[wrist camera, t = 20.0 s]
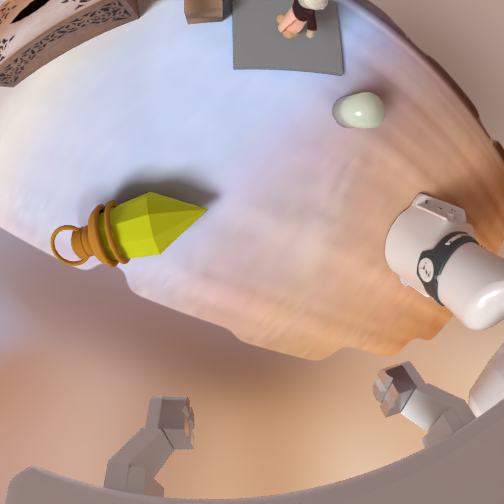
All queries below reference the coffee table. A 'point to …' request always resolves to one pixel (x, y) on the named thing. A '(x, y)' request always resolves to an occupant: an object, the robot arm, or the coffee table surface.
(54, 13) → the tissue box cover
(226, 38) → the coffee table surface
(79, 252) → the plumb bob
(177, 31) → the coffee table surface
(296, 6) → the grandmother figurine
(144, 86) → the coffee table surface
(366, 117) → the sage green capsule
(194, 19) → the walnut block
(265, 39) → the slate mat
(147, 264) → the coffee table surface
